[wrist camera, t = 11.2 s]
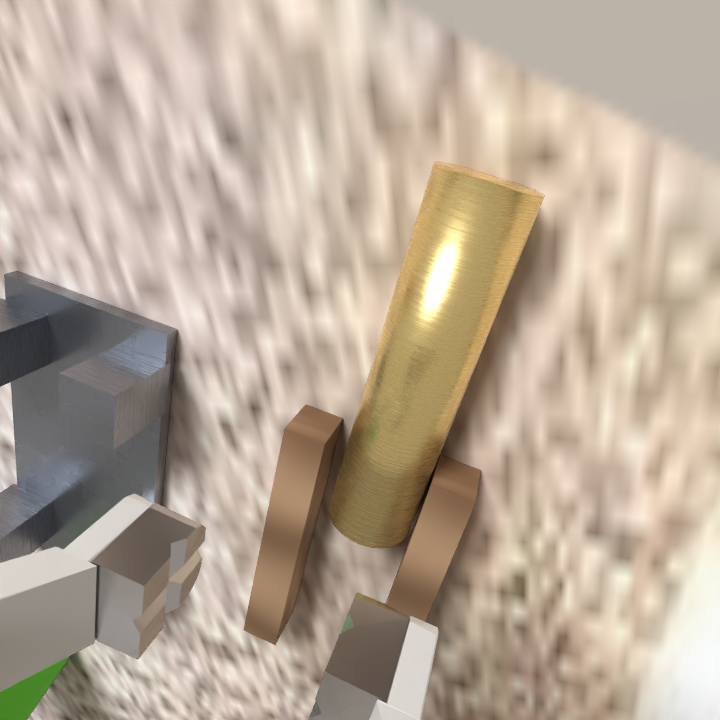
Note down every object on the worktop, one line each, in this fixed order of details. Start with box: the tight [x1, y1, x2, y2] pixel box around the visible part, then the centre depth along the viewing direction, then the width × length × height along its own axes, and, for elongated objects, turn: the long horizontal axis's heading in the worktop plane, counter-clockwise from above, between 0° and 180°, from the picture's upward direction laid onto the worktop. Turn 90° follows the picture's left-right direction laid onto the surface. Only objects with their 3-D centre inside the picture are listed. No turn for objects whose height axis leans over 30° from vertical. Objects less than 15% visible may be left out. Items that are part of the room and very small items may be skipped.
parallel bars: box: [244, 405, 481, 645], centre depth 28 cm, size 14×9×2 cm, turn 166°
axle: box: [329, 162, 545, 548], centre depth 22 cm, size 16×4×4 cm, turn 164°
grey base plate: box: [0, 271, 177, 563], centre depth 30 cm, size 19×11×5 cm, turn 166°
